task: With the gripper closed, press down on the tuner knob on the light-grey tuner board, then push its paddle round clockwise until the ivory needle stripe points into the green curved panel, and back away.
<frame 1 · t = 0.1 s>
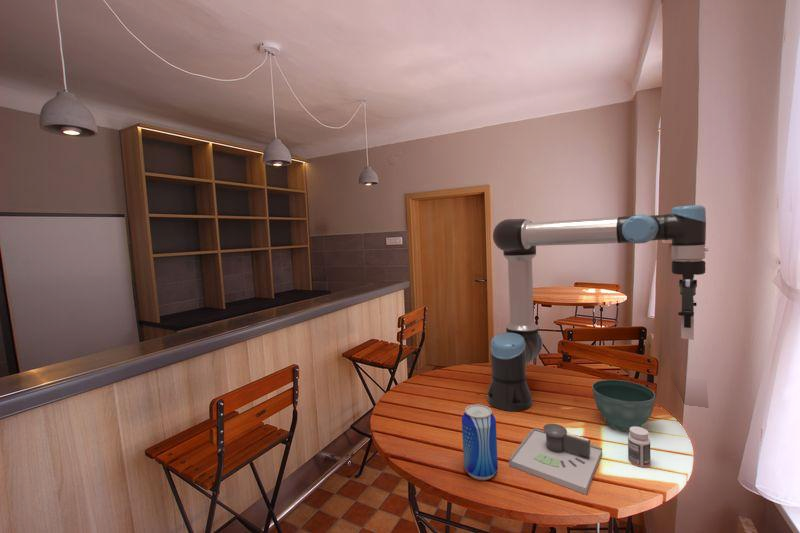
hand: (687, 332, 103), 28 cm above the table, fingers open, 13 cm apart
pill bottle: (639, 462, 91), on the table
tuner board: (556, 460, 93), on the table
beer can: (480, 471, 91), on the table
green curved panel: (555, 447, 96), resting on tuner board
flower pot: (622, 424, 108), on the table
tuner knob: (566, 441, 94), point 4 cm above the table, hinge at 0.0°
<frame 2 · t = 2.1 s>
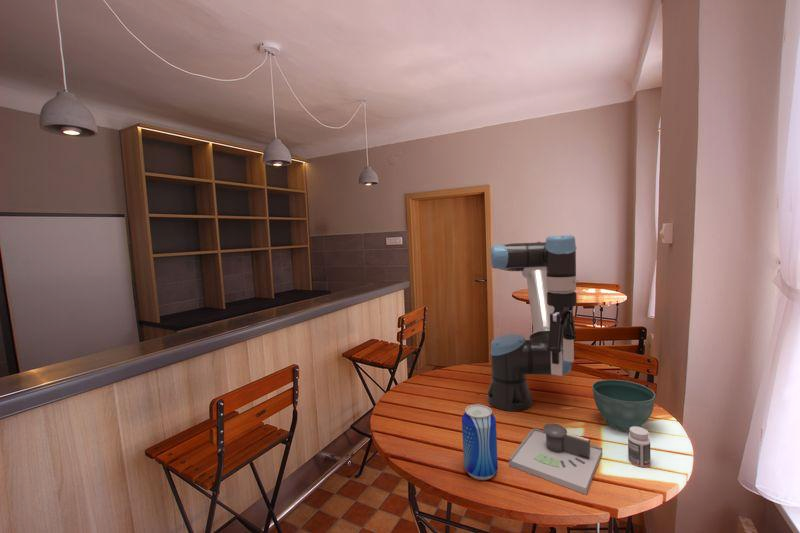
hand: (563, 367, 100), 21 cm above the table, fingers open, 11 cm apart
nothing on the table moved.
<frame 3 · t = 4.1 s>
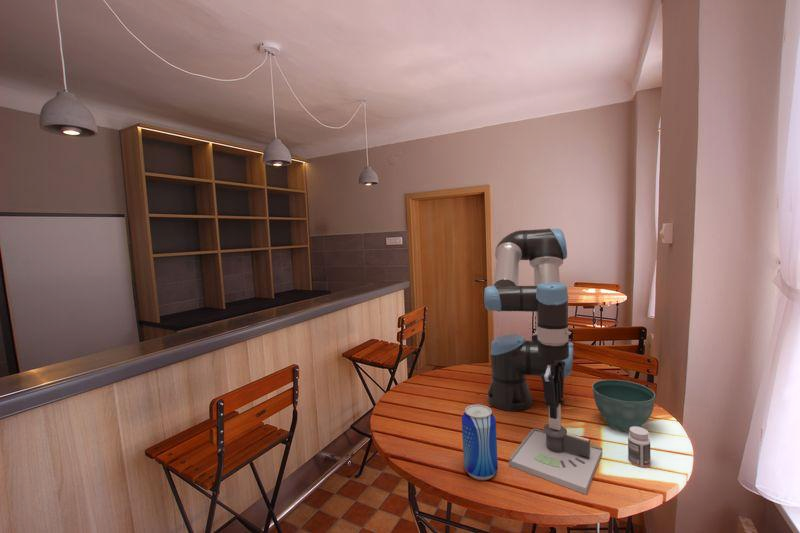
hand: (555, 427, 95), 7 cm above the table, fingers closed
nothing on the table moved.
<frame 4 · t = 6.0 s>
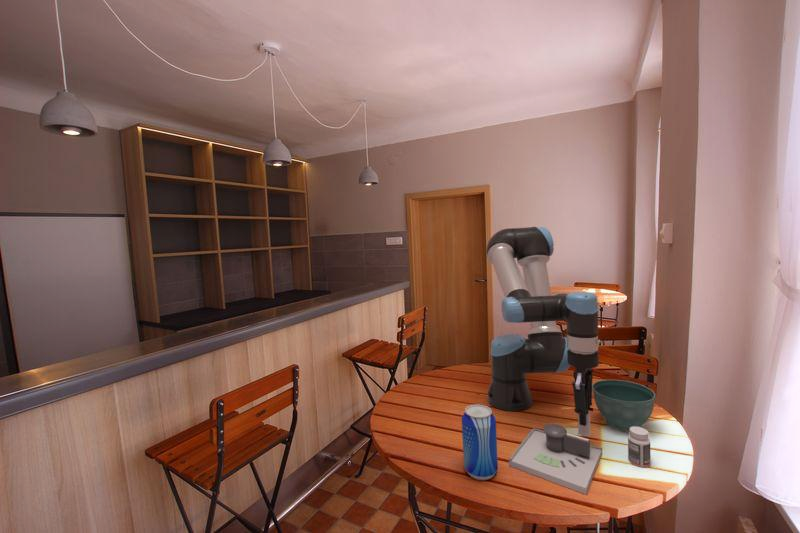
hand: (584, 434, 97), 4 cm above the table, fingers closed
nothing on the table moved.
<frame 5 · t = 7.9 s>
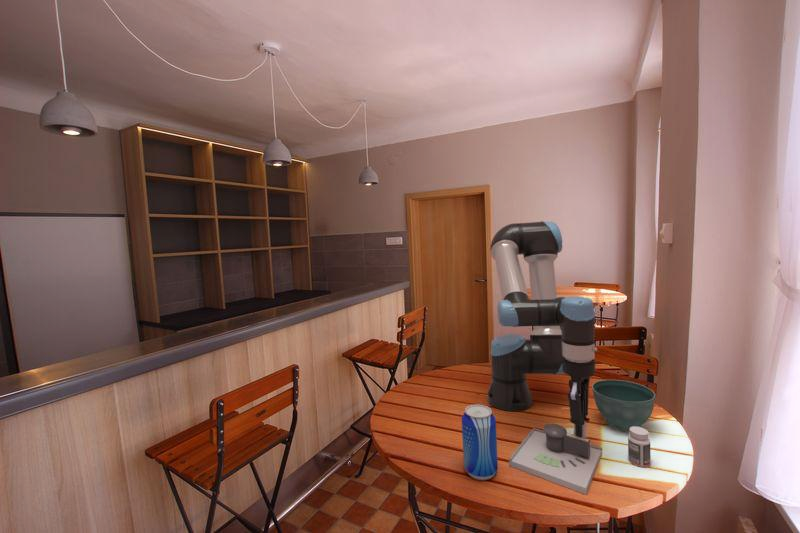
hand: (580, 445, 93), 3 cm above the table, fingers closed
tuner knob: (565, 441, 94), point 4 cm above the table, hinge at -1.7°, touching gripper
everything else where it was.
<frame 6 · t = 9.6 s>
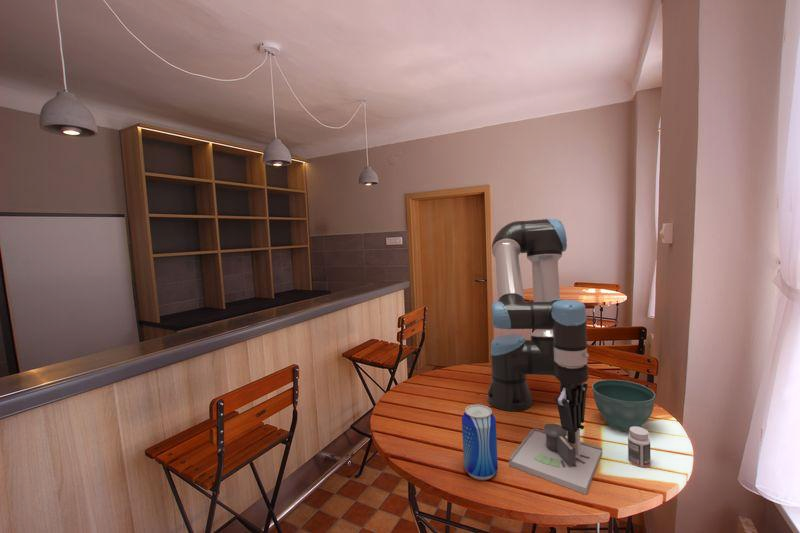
hand: (574, 452, 91), 3 cm above the table, fingers closed
tuner knob: (560, 443, 93), point 4 cm above the table, hinge at -47.1°, touching gripper
everything else where it was.
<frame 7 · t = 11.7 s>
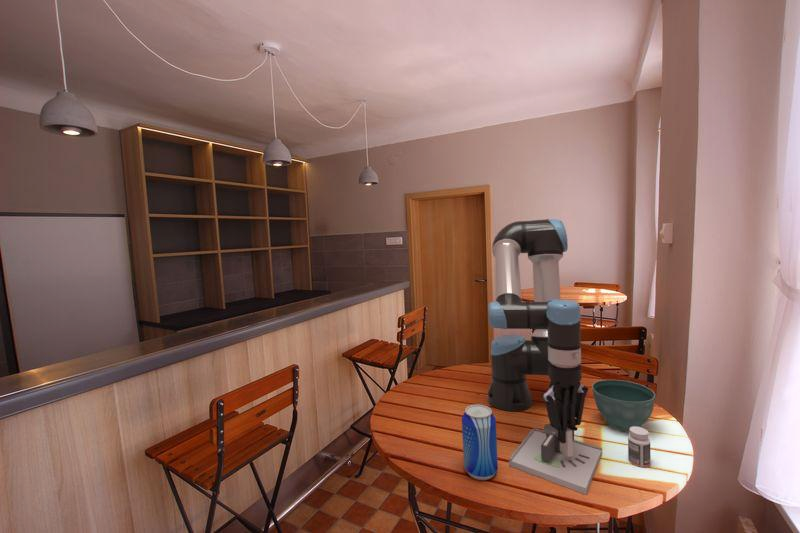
hand: (566, 453, 90), 3 cm above the table, fingers closed
tuner knob: (552, 442, 94), point 4 cm above the table, hinge at -90.8°
everything else where it was.
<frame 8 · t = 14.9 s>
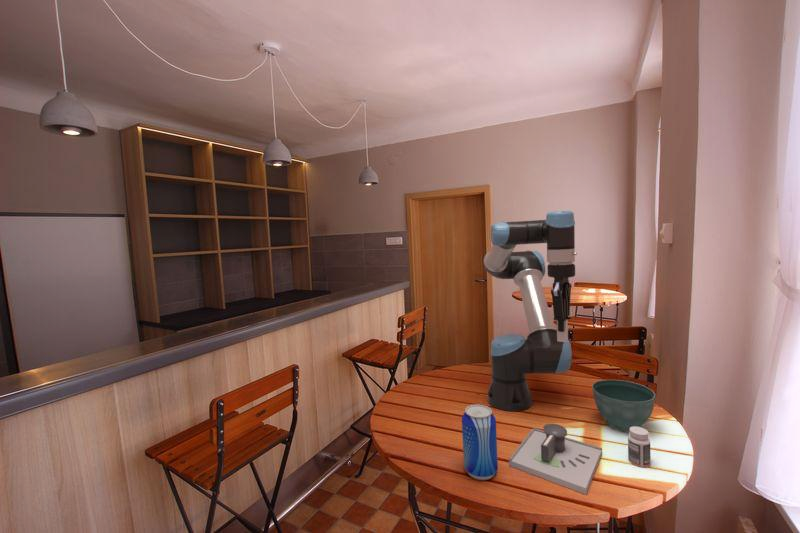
hand: (562, 341, 107), 26 cm above the table, fingers closed
nothing on the table moved.
at the end: tuner knob at -91° (first picture: +0°) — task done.
